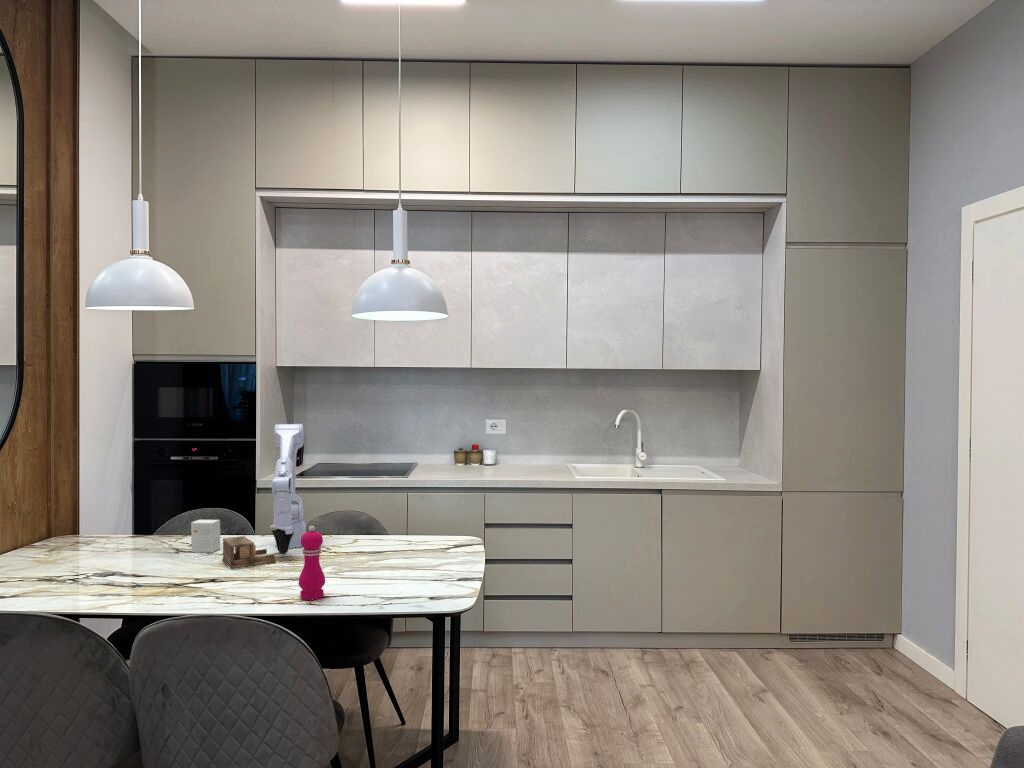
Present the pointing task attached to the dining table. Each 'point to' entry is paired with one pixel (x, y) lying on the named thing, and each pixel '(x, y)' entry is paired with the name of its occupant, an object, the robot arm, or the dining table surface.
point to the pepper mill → (311, 566)
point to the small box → (205, 535)
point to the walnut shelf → (245, 562)
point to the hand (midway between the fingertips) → (282, 551)
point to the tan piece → (245, 552)
